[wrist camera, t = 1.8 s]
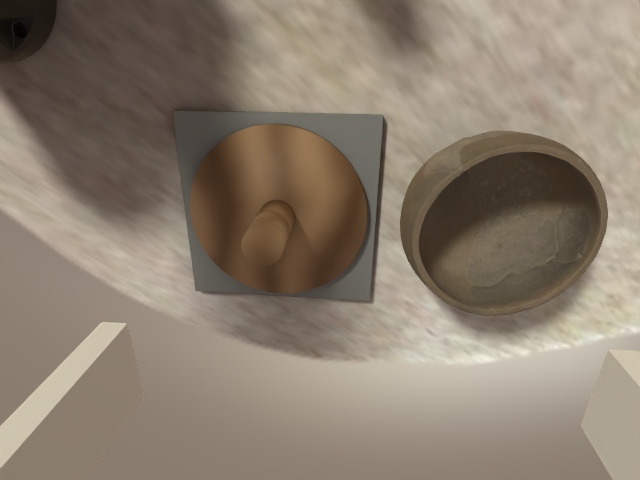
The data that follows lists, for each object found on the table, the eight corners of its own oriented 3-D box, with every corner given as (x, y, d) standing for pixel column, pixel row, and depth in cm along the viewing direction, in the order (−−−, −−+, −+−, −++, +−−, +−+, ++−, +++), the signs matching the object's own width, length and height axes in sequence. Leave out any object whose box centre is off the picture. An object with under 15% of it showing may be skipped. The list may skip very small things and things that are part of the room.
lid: (202, 285, 51) (173, 328, 43) (182, 121, 43) (141, 136, 35) (362, 293, 50) (363, 339, 42) (372, 125, 42) (376, 142, 34)
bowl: (578, 238, 46) (633, 283, 37) (426, 290, 50) (440, 342, 41) (540, 90, 40) (594, 100, 31) (371, 164, 44) (375, 191, 35)
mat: (198, 287, 53) (195, 291, 52) (176, 109, 44) (172, 111, 43) (369, 296, 51) (369, 301, 50) (382, 114, 42) (383, 116, 41)
